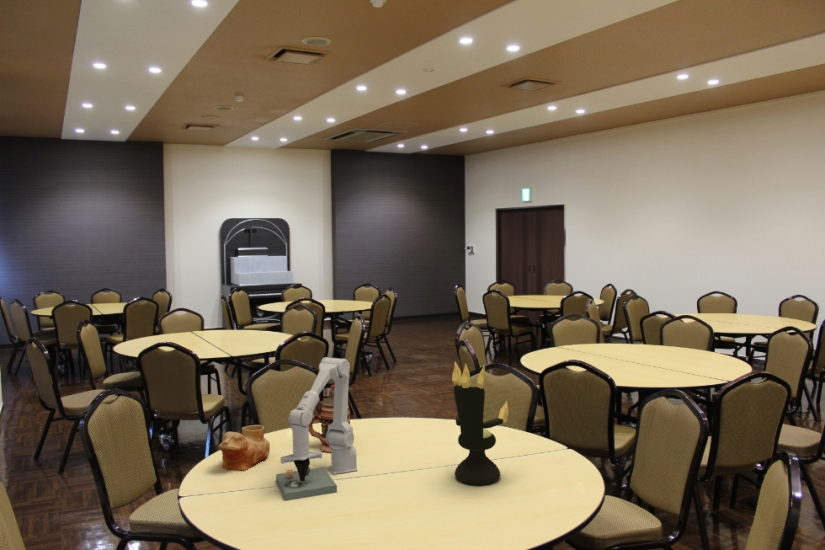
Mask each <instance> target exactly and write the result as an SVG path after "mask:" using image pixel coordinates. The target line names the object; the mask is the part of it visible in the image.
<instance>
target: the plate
mask: <svg viewBox="0 0 825 550" xmlns="http://www.w3.org/2000/svg"><path fill="white" fill-rule="evenodd" d="M293 472H294V475H293V477H292V478H287V477H286V475H285V474H286V472H280V473H276V474H275V477H276V478H275V481H276V483H277V485H278V488H279V490H280V492H281V494H282V496H283V497H284V500H285V501H292V500H298V499H305V498H310V497H316V496H321V495H328V494H333V493H337V492H338V489H337V488H338V485H337V483H336V482H335V481H334V479H333V478H332V477H331V475H330V474H329V473H328V471H327V470H326V468H325V467H324V466H322V467H321V466H320V467H316V468H315V467H314V468H310V472H309V473H308V474H307V475H305V481H300V477H299V473H298V470H296V471H294V470H293ZM293 482H296V483H298V484H299V486H297V487H292V486H290V485H291V483H293Z"/></svg>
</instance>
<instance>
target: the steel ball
mask: <svg viewBox="0 0 825 550" xmlns="http://www.w3.org/2000/svg"><path fill="white" fill-rule="evenodd" d="M290 486H292V487H297V486H299V484H298V483H296V482H293V483H291V485H290Z"/></svg>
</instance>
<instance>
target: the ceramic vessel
mask: <svg viewBox="0 0 825 550" xmlns="http://www.w3.org/2000/svg"><path fill="white" fill-rule="evenodd" d="M270 446H271V444H270V441H269V440H268V439H266V438H265V426H263V425H260V424H252V425H245V426H243V427H242V428H241V433H240V432H235V431H227V432H225V433H224V435H223V437H222V442H220V444H218V449H219V450H220V451H221V454H222V462H221V469H222V468H223V469H222V470H225V469H226V471H231V470H233V472H246V470H247V471H249V470H250V469H251V468H253V467H255V466H257V465H259V464H261V463H263V462H265V461H267V460H268V457H269V455H270V452H271V451H270V450H271V447H270ZM266 459H267V460H266ZM262 461H263V462H262ZM260 462H261V463H260ZM258 463H259V464H258ZM256 464H257V465H256ZM249 468H250V469H249ZM248 469H249V470H248ZM234 470H235V471H234Z"/></svg>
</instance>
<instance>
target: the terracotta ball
mask: <svg viewBox="0 0 825 550" xmlns="http://www.w3.org/2000/svg"><path fill="white" fill-rule="evenodd" d="M285 473H286V474H285V475H286V477H287V478H292V477H293V475H294V470H292V469H288V470H286V471H285Z"/></svg>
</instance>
